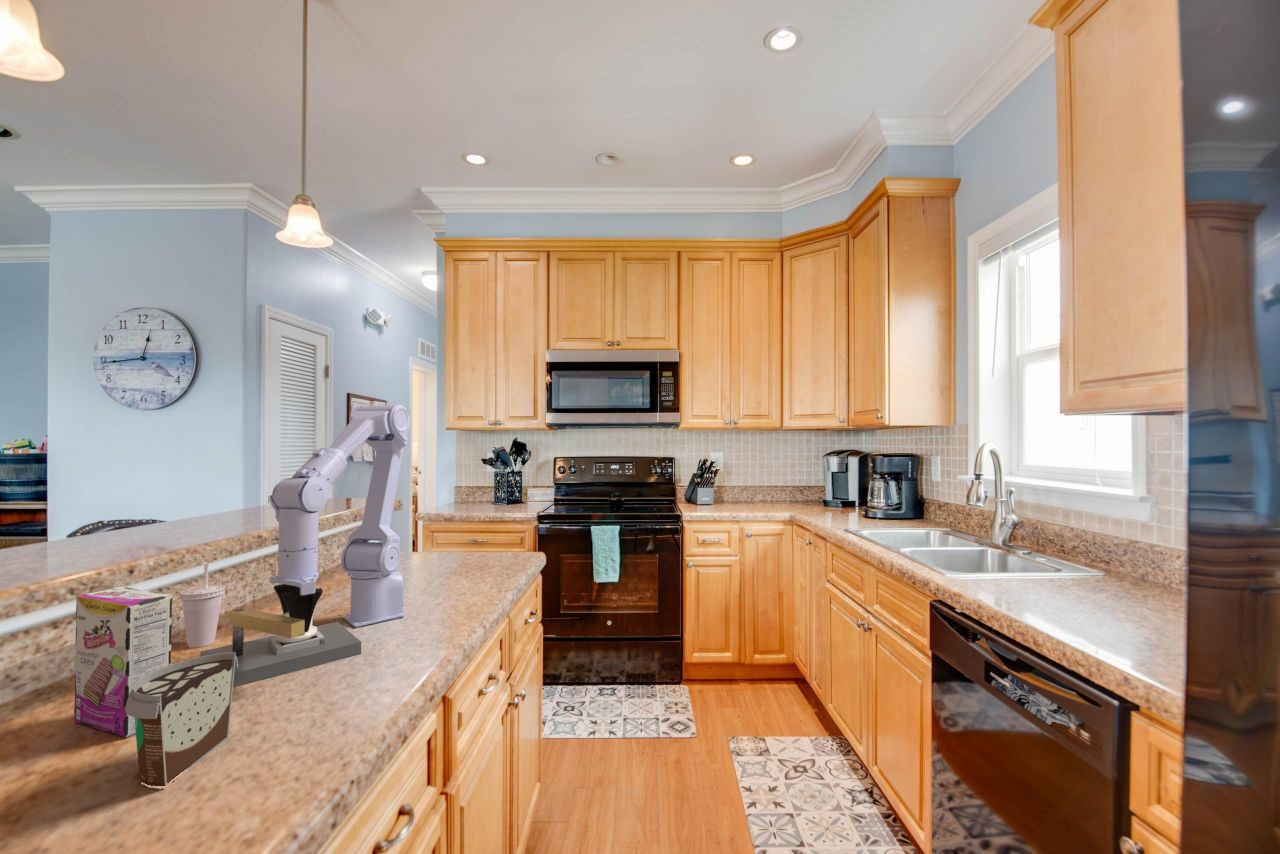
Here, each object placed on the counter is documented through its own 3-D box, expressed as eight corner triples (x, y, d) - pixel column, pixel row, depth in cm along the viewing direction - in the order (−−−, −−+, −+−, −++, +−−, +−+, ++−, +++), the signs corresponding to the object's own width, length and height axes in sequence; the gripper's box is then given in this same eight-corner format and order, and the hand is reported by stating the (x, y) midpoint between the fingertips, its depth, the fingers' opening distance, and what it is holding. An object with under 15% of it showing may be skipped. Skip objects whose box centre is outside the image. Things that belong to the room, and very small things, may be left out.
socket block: (337, 632, 99) (337, 616, 99) (361, 653, 89) (361, 635, 89) (200, 663, 85) (200, 645, 85) (209, 693, 75) (210, 672, 75)
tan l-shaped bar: (303, 667, 78) (304, 620, 79) (290, 672, 76) (291, 624, 77) (241, 652, 84) (242, 608, 84) (227, 656, 82) (228, 611, 82)
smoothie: (233, 637, 96) (235, 561, 97) (200, 651, 90) (202, 569, 90) (201, 636, 97) (204, 560, 97) (167, 650, 91) (169, 568, 91)
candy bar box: (69, 724, 67) (73, 595, 67) (119, 706, 71) (122, 585, 72) (123, 740, 63) (127, 603, 64) (172, 720, 68) (175, 592, 68)
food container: (184, 734, 64) (186, 652, 65) (236, 731, 65) (238, 650, 65) (87, 802, 52) (90, 701, 52) (153, 798, 53) (155, 698, 53)
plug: (312, 634, 92) (312, 605, 93) (320, 643, 88) (321, 613, 89) (272, 643, 88) (273, 613, 89) (279, 653, 84) (280, 621, 84)
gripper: (262, 545, 91) (260, 624, 91) (279, 558, 81) (277, 647, 80) (308, 540, 96) (307, 614, 96) (330, 552, 86) (329, 635, 85)
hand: (297, 629), depth 88 cm, fingers closed on plug, 4 cm apart
